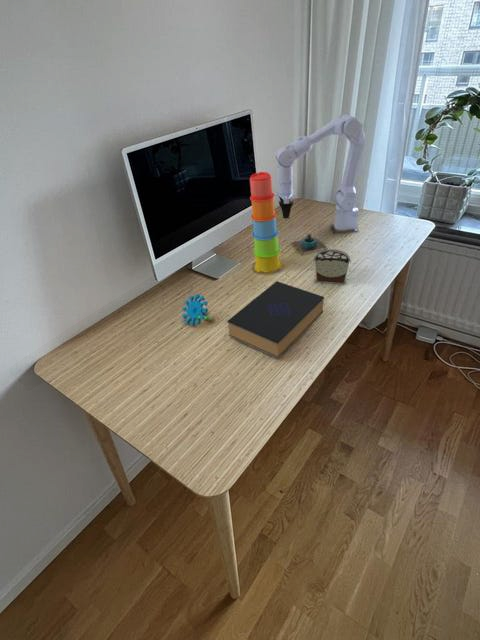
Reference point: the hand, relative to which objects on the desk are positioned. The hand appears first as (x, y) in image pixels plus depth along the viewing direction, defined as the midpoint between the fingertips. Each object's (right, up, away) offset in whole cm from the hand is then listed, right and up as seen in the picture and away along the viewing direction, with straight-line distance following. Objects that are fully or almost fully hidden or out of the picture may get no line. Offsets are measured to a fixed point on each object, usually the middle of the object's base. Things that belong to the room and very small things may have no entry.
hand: (285, 214), depth 158 cm
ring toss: (+9, -14, -3) cm, 17 cm away
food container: (+13, -29, -23) cm, 40 cm away
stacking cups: (-8, -24, -14) cm, 29 cm away
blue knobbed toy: (-32, -44, -37) cm, 66 cm away
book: (-8, -46, -42) cm, 63 cm away
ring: (+9, -13, -4) cm, 17 cm away
